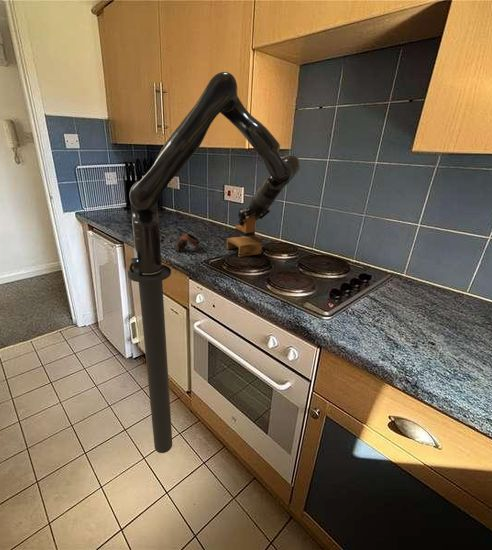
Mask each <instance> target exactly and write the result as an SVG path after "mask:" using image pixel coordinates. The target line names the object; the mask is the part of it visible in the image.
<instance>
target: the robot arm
mask: <svg viewBox="0 0 492 550" xmlns="http://www.w3.org/2000/svg"><path fill="white" fill-rule="evenodd" d="M219 114H221V115H222V116H223V117H225V119H227V120H228V121H229V122H230V123H231V124H232V125H233V126H234V127H235V128H236V129H237V130H238V131H239V132H240V133H241V135H242V136H243V137H244V138H245V139H246V141H247V142H248V143H249V144H250V145H251V147H252V148H253V149H254V151H256V153H257V154H258V155H259V156H260V157H261V159H262V160H263V163H264V165H265V167H266V170H267V171H268V173H269V175H268V176H267V178H266V179H265V180H264V181H263V183H262V184H261V185H260V187H259V188H258V189H257V190H256V191H255V193H254V195H253V196H252V197H251V199H250V201H249V205H248V206H247V207H246V208H242V207H240V209H239V211H238V214H237V216H238V219H239V221H238V225H240V226H242V225H243V224H244V223H245V221H246V220H247V219H250V218H251V217H252V216H256V217H255V218H256V219H255V222H256V221H258V220H262V219H263V218H265V216H267V215H268V214H269V213H270V212H271V210H270V207H271V206H272V205H273V204H274V203H275V201H276V199H277V198H278V196H280V194H281V192H282V191H283V190H284V188H285V187H286V185H288V184H289V183H290V182H291V181H292V180H293V178H294V177H295V176H296V175H297V174H298V172H299V171H300V168H301V161H300V160H299V158H298V157H297V156H296V155H294V154H287V155H285V156H283V157H281V155H280V154H279V151H280V149H281V144H280V143H279V141H278V140H277V139H276V137H275V136H274V135H273V134H272V133H271V131H270V129H268V128H267V127H266V126H265V125H264V124H263V123H262V122H261V121H260V120H258V119H257V118H256V117H254V116H253V115H252V114H251V113H250V112H249V111H248V110H247V109H246V107H245V106H244V104H243V103H242V101H241V99H240V98H239V96H238V83H237V80H236V78H235V76H234V75H233V74H232V73H230V72H229V71H220V72H218V73H216V74H214V75H213V76H212V77H211V79H209V82H208V83H207V85H206V87H204V90H203V91H202V92H201V95H200V97H199V99H198V100H197V101H196V103H195V104H194V106H193V107H192V108H191V110H190V111H189V112H188V113H187V114H186V116H185V117H184V118H183V120H182V121H181V122H180V123H179V125H178V126H177V127H176V128H175V129H174V131H173V132H172V133H171V134H170V136H169V137H168V139H167V140H166V141H165V143H164V145H163V146H162V147H161V149H160V151H159V153H158V155H157V156H156V159H155V160H154V162H153V164H152V166H151V167H150V168H149V169H148V171H146V173H145V174H144V175H143V177H141V179H140V180H137V181H135V182H134V183H133V184H132V186H131V187H130V189H129V194H128V195H129V201H130V208H131V223H132V233H133V244H134V246H133V257H131V258H130V264H129V267H128V268H129V270H130V271H131V272H132V273H134V270H133V269H132V268H134V269H136V272H137V273H138V275H139V276H154V275H157V274H160V273H161V272H162V265H163V264H162V251H161V250H162V249H161V234H160V233H161V232H160V218H159V217H160V216H159V206H158V201H159V199H160V198H161V196H162V194H163V193H164V191H165V190H166V188H167V187H168V186H169V184H170V183H171V181H172V180H174V178H175V177H176V176H177V175H178V174H179V173H180V171H182V170H183V168H184V167H185V166H186V165H187V163H189V161H190V160H191V159H192V158H193V156H194V155H195V154H196V152H197V151H198V149H199V148H200V146H201V144H202V143H203V141H204V140H205V138H206V135H207V133H208V132H209V129H210V127H211V125H212V123H213V122H214V120H215V119H216V118H217V116H218V115H219ZM245 216H246V218H245ZM161 264H162V265H161Z"/></svg>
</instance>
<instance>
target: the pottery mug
mask: <svg viewBox="0 0 492 550" xmlns="http://www.w3.org/2000/svg"><path fill="white" fill-rule="evenodd" d="M188 243H190V244H191V245H193V246H195V249H194V251H195V252H197V251H198V250H199V248H200V240H199V238H197V237H195V235H192V234H191V233H184V235H181V236H180V237H179V239H178V241H177V243H176V247H175V248H176V251H177V252H184V251H185V249H186V247H187V245H188Z"/></svg>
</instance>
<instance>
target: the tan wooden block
mask: <svg viewBox="0 0 492 550" xmlns="http://www.w3.org/2000/svg"><path fill="white" fill-rule="evenodd" d="M262 248H263V238H262V237H261V236H258V235H257V234H255V236H247V237H245V236H243V235H241V236H235V237H227V238H226V250H235V249H238V257H239V258H242V257H248V256H254V255H261V254H262V250H263V249H262ZM247 253H249V254H247ZM239 254H242V255H239Z"/></svg>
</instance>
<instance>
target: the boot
mask: <svg viewBox="0 0 492 550" xmlns="http://www.w3.org/2000/svg"><path fill="white" fill-rule="evenodd" d="M255 217H256V216H252V217H251V218H250V219H247V220H246V221H245V223H244V224H243V225H242V226H240V224H236V225H235V228H234V231H235V233H237V234H240V235H241V236H245V237H247V236H255V235H256V232H255V231H256V221H255V219H256V218H255ZM245 218H246V216H245Z"/></svg>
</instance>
